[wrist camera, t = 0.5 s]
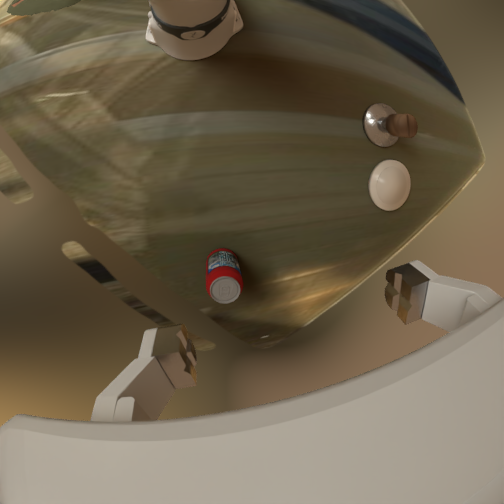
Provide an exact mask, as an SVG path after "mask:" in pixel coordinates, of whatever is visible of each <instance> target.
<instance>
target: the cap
mask: <svg viewBox="0 0 504 504" xmlns="http://www.w3.org/2000/svg"><path fill="white" fill-rule="evenodd" d="M385 126H386V129H387V131H388V133H389V134H390V135H392V136H397V137H406V138H412V137H414V136H415V135H416V133H417V129H418V127H417V122H416V120H415V118H414V117H413V115H410V114H391V115H389V116H388V117H387V118H386V121H385Z"/></svg>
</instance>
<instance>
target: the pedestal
mask: <svg viewBox="0 0 504 504" xmlns="http://www.w3.org/2000/svg"><path fill="white" fill-rule="evenodd" d="M391 114H397V113H396V112H395V110H394V109H393V108H392V107H390V106H389V105H387V104H383V103H377V104H373V105H371V106H369V107H368V108H367V110H366V111H365V113H364V116H363V128H364V132H365V134H366V136H367V137H368V139H369V140H370V141H371V142H372V143H374V144H375V145H377V146H382V147H388V146H391V145H393V144H394V143H395V142H396V141H397V140H398V138H399V137H397V136H392V135H390V134H389V133H388V131H387V129H386V126H385V121H386V118H387V117H388V116H389V115H391Z"/></svg>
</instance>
